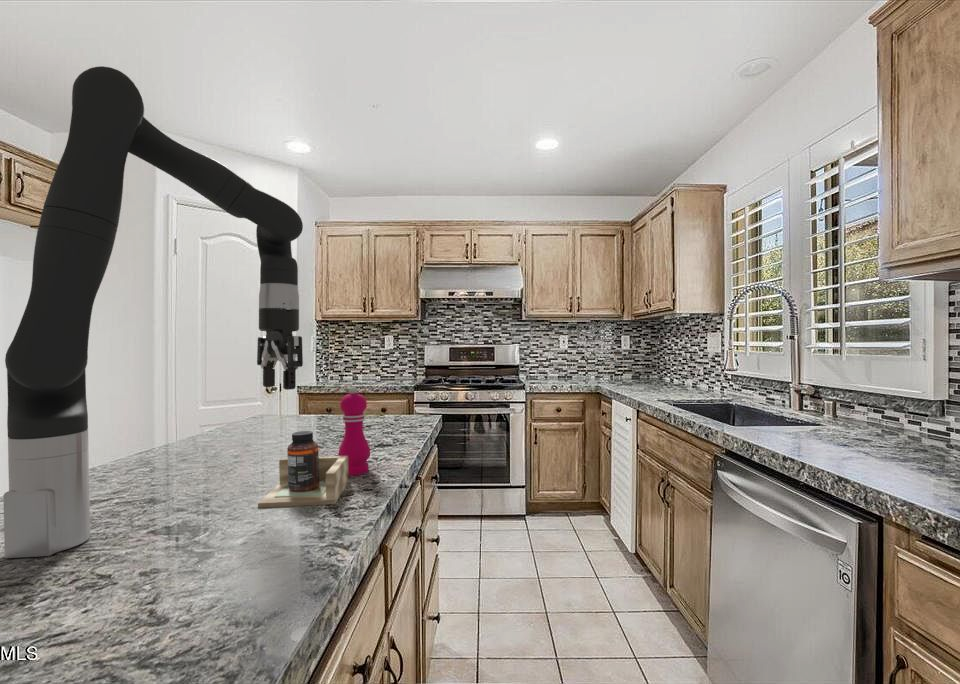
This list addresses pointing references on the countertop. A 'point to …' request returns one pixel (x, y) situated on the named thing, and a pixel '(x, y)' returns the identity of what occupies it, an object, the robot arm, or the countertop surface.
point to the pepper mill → (354, 433)
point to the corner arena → (327, 492)
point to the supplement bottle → (303, 462)
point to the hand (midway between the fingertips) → (278, 388)
